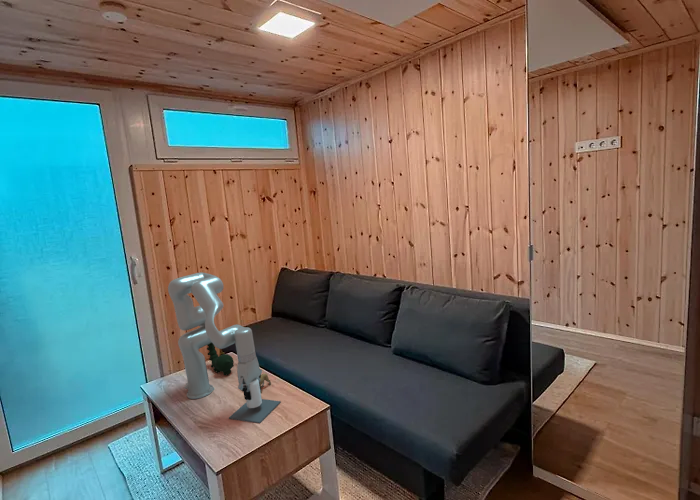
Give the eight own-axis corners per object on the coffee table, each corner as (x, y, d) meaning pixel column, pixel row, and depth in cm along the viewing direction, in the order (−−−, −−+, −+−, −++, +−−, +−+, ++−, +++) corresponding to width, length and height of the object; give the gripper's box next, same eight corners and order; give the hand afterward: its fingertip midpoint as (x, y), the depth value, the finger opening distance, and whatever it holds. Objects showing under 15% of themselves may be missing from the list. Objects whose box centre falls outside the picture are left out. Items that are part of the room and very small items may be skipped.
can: (258, 408, 163) (254, 382, 161) (244, 408, 164) (240, 383, 163) (264, 400, 169) (260, 375, 168) (251, 400, 171) (247, 375, 169)
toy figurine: (206, 372, 217) (224, 380, 198) (199, 340, 216) (217, 345, 197) (222, 365, 223) (241, 373, 204) (215, 334, 222) (234, 339, 203)
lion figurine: (260, 398, 178) (257, 380, 176) (249, 397, 179) (247, 380, 178) (273, 382, 192) (270, 365, 190) (263, 382, 193) (260, 365, 192)
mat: (229, 418, 163) (228, 417, 163) (251, 398, 178) (251, 397, 178) (260, 423, 157) (259, 422, 157) (280, 402, 171) (280, 401, 171)
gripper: (251, 347, 173) (257, 384, 176) (226, 365, 157) (233, 405, 160) (265, 348, 170) (271, 385, 173) (241, 366, 154) (247, 407, 157)
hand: (253, 394), depth 166 cm, fingers closed on can, 6 cm apart
